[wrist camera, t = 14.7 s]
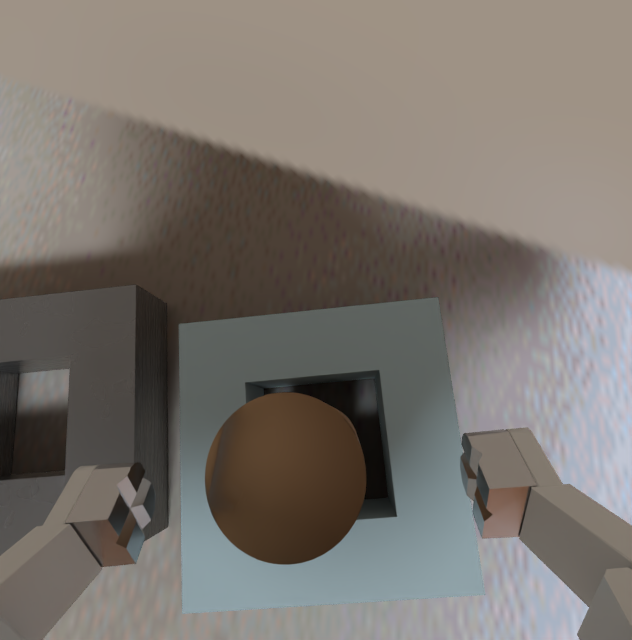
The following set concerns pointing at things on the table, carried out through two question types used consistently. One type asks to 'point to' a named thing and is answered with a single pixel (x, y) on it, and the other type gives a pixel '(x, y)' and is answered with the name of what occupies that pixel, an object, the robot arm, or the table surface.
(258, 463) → the peg
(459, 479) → the block
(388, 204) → the table surface
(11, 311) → the socket block
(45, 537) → the robot arm
